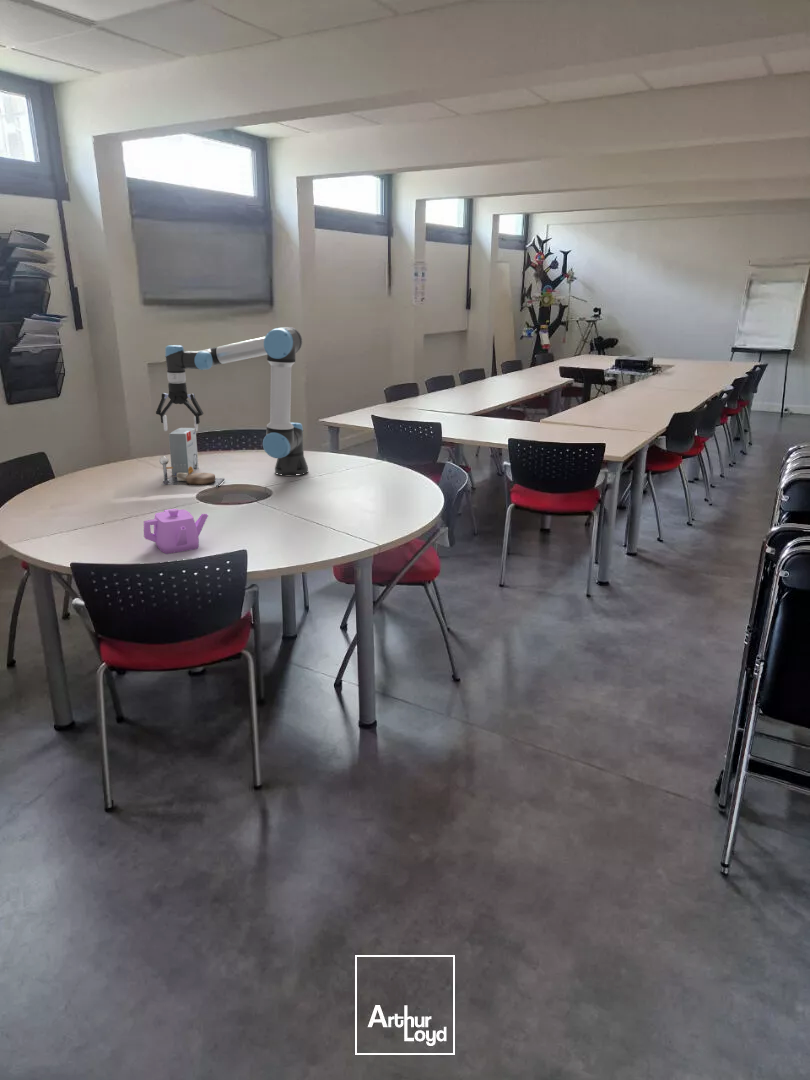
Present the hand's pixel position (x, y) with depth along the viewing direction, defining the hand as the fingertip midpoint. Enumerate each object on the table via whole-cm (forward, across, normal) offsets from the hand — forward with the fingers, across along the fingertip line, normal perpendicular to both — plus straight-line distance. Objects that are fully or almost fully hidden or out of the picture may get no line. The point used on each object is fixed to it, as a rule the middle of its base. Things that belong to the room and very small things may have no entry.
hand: (181, 430), depth 313 cm
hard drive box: (+20, 0, 0) cm, 20 cm away
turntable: (+18, +10, -17) cm, 27 cm away
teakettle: (+20, +26, -92) cm, 98 cm away
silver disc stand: (+18, -2, -19) cm, 26 cm away
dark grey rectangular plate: (+20, +9, -18) cm, 28 cm away
